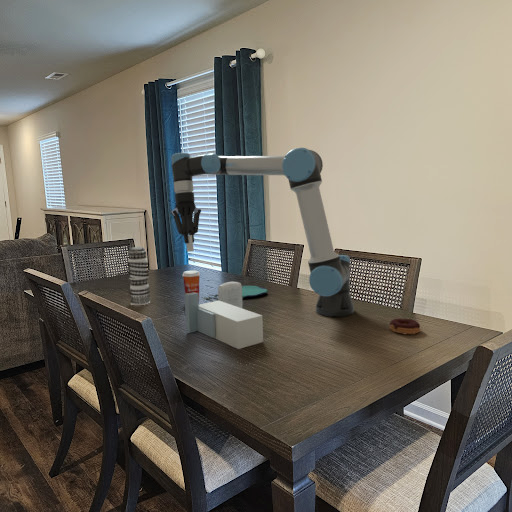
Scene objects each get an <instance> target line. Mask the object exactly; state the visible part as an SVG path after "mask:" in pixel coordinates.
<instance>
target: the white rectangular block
mask: <svg viewBox="0 0 512 512" xmlns="http://www.w3.org/2000/svg"><path fill="white" fill-rule="evenodd" d="M213 301H214V302H211V301H210V302H204V303H200V304H199V308H201V309H204V310H206V311H209V312H211V313H214V314H215V338H214V339H216V340H217V341H220V342H222V343H224V344H226V345H227V346H231V347H233V348H235V349H237V350H241V349H243V348H246V347H250V346H254V345H258V344H261V343H263V342H264V333H263V332H264V331H263V329H264V328H263V324H264V323H263V315H262V314H259V313H257V312H253V311H250V310H247V309H244V308H243V307H242V308H239V307H236V306H233V305H231V304H228V303H225V302H222V301H218V300H213Z"/></svg>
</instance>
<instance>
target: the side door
mask: <svg viewBox="0 0 512 512" xmlns="http://www.w3.org/2000/svg"><path fill="white" fill-rule="evenodd" d="M199 302H200V298H199V299H198V293H195V292H193V293H188V294H185V293H184V304H185V305H184V306H185V307H184V308H185V309H184V310H185V311H184V312H185V329H186V330H185V331H186V332H188V333H194V332H199V333H202V334H204V335H206V336H208V337H210V338H212V339H216V338H215V314H214V313H211V312H209V311H206V310H204V309H201V308H199Z"/></svg>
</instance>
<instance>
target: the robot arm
mask: <svg viewBox="0 0 512 512" xmlns="http://www.w3.org/2000/svg"><path fill="white" fill-rule="evenodd" d="M323 164H324V163H323V160H322V157H321V156H320V155H319V153H318V152H316V151H315V150H313V149H309V148H307V147H296V148H292V149H291V150H289V151H288V152H287V153H286V154H285V155H249V156H248V155H245V156H244V155H235V156H232V155H231V156H226V155H217V153H213V152H212V153H205V154H201V155H195V156H191V154H190V153H189V152H176V153H174V154H172V155H171V169H172V176H173V188H174V193H175V195H174V197H175V203H176V204H175V208H174V209H173V210H171V211H170V214H171V215H172V217H173V220H174V223H175V225H176V229H177V231H178V234H179V235H181V236H183V239H184V240H183V243H184V244H185V245H186V246H185V247H186V252H194V243H195V235H196V234H197V233H198V232H199V224H200V223H199V222H200V215H201V213H202V209H201V208H198V207H197V205H196V204H195V193H194V191H195V189H194V184H193V183H194V182H193V177H196V176H197V177H198V176H205V175H212V176H213V175H216V176H223V175H225V176H237V175H239V176H285V177H286V178H287V180H288V182H289V188H290V190H291V192H292V191H293V192H294V193H295V195H296V199H297V203H298V206H299V207H298V208H299V212H300V215H301V221H302V224H303V229H304V232H305V237H306V241H307V246H308V250H309V253H310V258H309V260H308V263H307V264H308V268H309V272H310V274H309V278H308V279H309V281H308V282H309V285H310V288H311V289H312V291H313V292H314V293H316V294H317V295H319V296H318V298H317V301H316V305H315V312H316V313H317V314H318V315H320V316H324V315H325V316H326V317H332V316H337V317H339V316H341V317H347V315H348V316H350V314H351V315H353V314H354V313H355V305H354V303H353V302H354V301H353V299H352V297H351V291H350V288H351V287H350V286H351V285H350V284H351V282H350V281H351V280H350V279H351V261H350V260H351V257H350V256H349V255H344V254H343V255H342V254H338V253H337V252H335V251H334V247H333V246H334V245H333V241H332V237H331V233H330V229H329V225H328V220H327V216H326V212H325V206H324V204H323V203H324V202H323V199H322V195H321V190H320V186H321V184H322V183H323V180H322V175H321V173H322V170H323V166H324V165H323ZM337 317H336V318H337Z"/></svg>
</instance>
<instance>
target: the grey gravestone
mask: <svg viewBox="0 0 512 512" xmlns="http://www.w3.org/2000/svg"><path fill="white" fill-rule="evenodd" d="M242 286H243V285H242V284H241V282H238V281H227V282H224V283H221V284H220V285H218V288H217V293H218V294H217V295H218V296H217V298H218V299H217V301H222V302H225V303H228V304H231V305H233V306H236V307H239V308H242V309H243V298H242Z"/></svg>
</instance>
